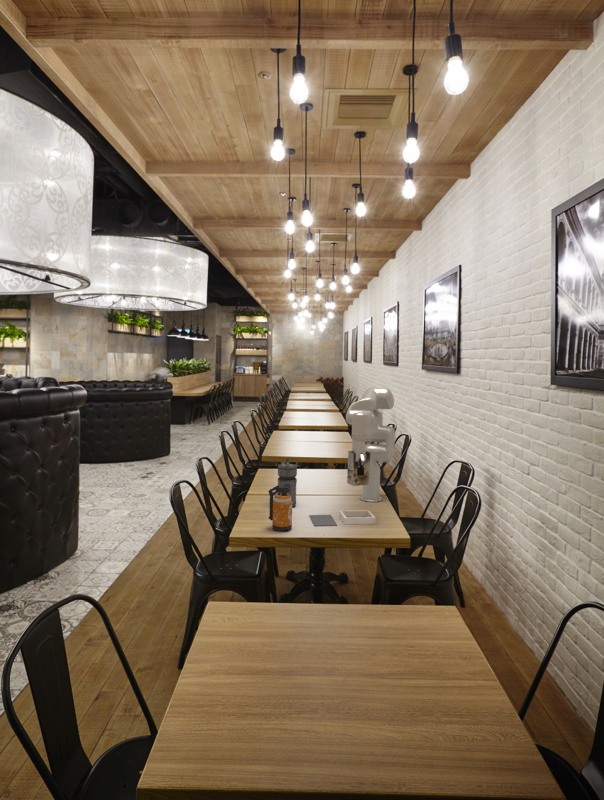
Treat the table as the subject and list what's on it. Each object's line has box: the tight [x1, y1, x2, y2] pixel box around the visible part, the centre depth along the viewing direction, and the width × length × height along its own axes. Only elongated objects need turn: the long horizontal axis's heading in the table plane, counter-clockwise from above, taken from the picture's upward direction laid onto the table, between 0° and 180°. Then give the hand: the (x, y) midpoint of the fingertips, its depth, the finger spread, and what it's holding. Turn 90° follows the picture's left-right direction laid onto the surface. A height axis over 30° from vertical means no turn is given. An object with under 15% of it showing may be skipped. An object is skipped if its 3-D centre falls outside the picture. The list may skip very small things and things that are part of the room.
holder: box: [338, 509, 377, 525], centre depth 249 cm, size 12×15×3 cm
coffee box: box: [346, 450, 370, 487], centre depth 247 cm, size 9×6×16 cm
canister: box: [268, 484, 293, 532], centre depth 233 cm, size 9×11×20 cm
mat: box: [308, 514, 338, 527], centre depth 247 cm, size 16×11×1 cm
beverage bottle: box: [277, 458, 298, 508], centre depth 270 cm, size 10×13×25 cm
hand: (358, 473), depth 247 cm, fingers closed on coffee box, 7 cm apart
